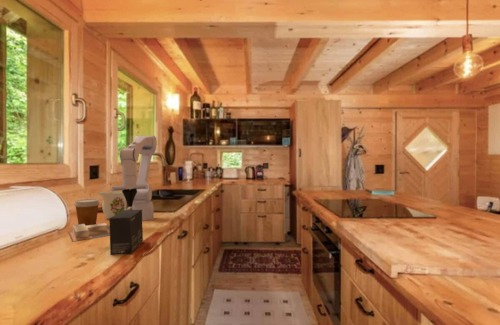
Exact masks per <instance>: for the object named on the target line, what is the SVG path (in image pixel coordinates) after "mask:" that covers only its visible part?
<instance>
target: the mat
mask: <svg viewBox="0 0 500 325" xmlns="http://www.w3.org/2000/svg"><path fill="white" fill-rule="evenodd" d="M67 234H68V235H69V239H70V240H71V242H72V243H76V242H82V241H89V240H93V239H99V238H105V237H110V225H109V226H108V225H107V232H106V233H100V234H93V235H89V238H85V239H79V240H76V239H75V237H74V234H73V231H68V232H67Z"/></svg>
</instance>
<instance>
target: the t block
mask: <svg viewBox="0 0 500 325" xmlns="http://www.w3.org/2000/svg"><path fill="white" fill-rule="evenodd" d="M107 227H108V224H107V223H106V222H104V223H102V222H101V223H96V224H95V225H87V226H85V224H79V225H78V224H73V225H72V232H73V234H74V237H75V239H76V240H79V239H85V238H89V235H93V234H100V233H106V232H107Z"/></svg>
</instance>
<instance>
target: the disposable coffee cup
mask: <svg viewBox="0 0 500 325" xmlns="http://www.w3.org/2000/svg"><path fill="white" fill-rule="evenodd" d="M100 203H101V202H100V201H99V199H97V198H87V199H79V200H76V201H75V203H74V207H75V211H76V212H75V213H76V218H77V223H78V224H77V225H79V224H85V226H87V225H95V224H97V219H98V213H99V211H98V210H99V205H100Z"/></svg>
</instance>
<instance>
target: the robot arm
mask: <svg viewBox="0 0 500 325" xmlns="http://www.w3.org/2000/svg"><path fill="white" fill-rule="evenodd" d="M157 142H158V141H157V137H156V136H155V135H136V136H135V138H134V141H132V142H131V143H130V144H129V145H128V146H127V147H126V148H125V147H124V148H122V149H120V151H119V160H120V165H121V166H122V167H121V170H122V173H121V176H122V179H121V180H122V182H121V183H122V185H113V186H110V192H111V191H122V193H123V194H124V196H125V199H126V207H127V208H129V207H132V208H131V210H142V222H144V221H149V220H151V221H154V220H155V218H154V217H155V213H154V211H155V209H154V202H153V201H151V200H152V196H153V188H152V186H151V185H150V184H149V183H148V180H149V175H150V174H149V173H150V168H151V162H152V161H151V160H152V156H153V155H154V154H155V153H156V151H157V145H158V144H157ZM140 155H141V159H140V164H139V169H138V168H137V165H138V164H137V162H138V160H139V158H140ZM137 169H138V174H137Z"/></svg>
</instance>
